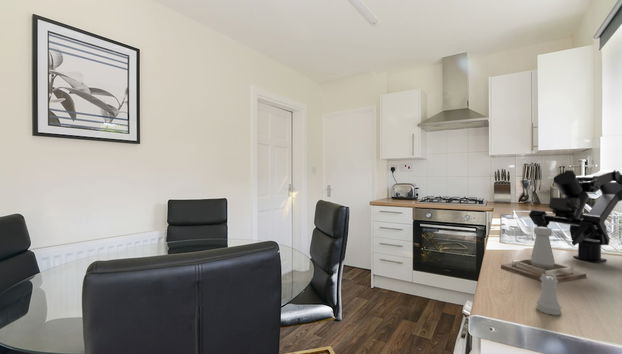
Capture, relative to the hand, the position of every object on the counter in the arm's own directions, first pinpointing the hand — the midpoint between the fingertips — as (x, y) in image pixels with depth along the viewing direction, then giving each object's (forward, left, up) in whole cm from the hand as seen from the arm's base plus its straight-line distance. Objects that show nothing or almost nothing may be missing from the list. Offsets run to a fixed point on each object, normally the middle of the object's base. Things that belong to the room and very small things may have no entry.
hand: (555, 241), depth 91 cm
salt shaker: (+7, +1, -8) cm, 11 cm away
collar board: (+8, +1, -9) cm, 12 cm away
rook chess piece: (+33, +19, -9) cm, 39 cm away
